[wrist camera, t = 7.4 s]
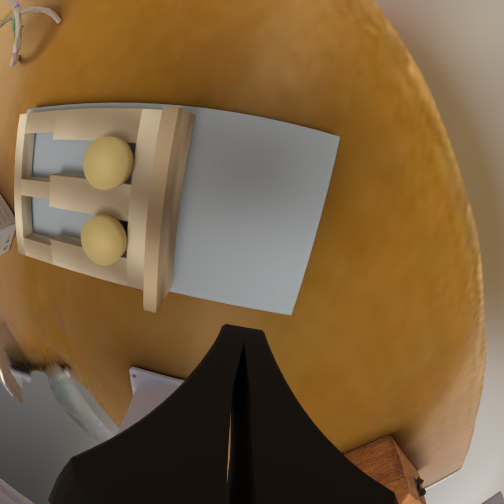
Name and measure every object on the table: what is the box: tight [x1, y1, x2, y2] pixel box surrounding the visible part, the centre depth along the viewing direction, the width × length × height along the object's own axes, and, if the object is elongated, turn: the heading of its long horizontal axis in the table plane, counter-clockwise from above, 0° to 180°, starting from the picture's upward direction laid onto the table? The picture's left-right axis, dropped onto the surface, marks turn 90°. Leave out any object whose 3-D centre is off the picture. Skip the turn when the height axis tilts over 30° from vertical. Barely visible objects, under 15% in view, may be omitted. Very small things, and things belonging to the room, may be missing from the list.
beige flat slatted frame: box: [14, 106, 195, 313], centre depth 14 cm, size 11×14×3 cm
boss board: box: [27, 103, 340, 315], centre depth 15 cm, size 12×23×4 cm, turn 79°
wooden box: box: [343, 435, 426, 504], centre depth 26 cm, size 30×16×14 cm, turn 34°
